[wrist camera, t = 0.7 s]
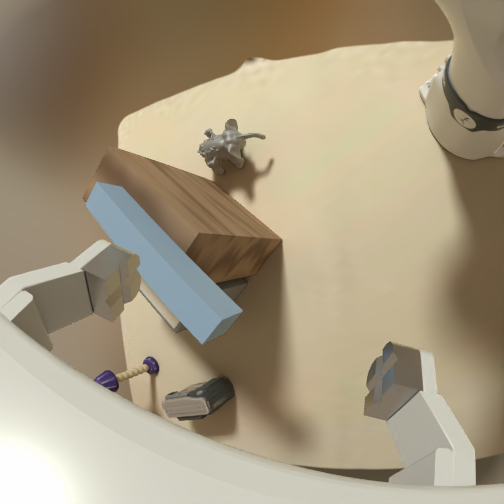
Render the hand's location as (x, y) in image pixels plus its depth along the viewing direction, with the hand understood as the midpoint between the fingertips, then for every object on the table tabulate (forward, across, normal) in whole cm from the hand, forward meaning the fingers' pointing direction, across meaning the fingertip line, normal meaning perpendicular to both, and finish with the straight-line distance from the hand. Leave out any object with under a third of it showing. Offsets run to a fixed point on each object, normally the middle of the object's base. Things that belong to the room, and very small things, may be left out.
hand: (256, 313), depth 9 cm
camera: (+25, +7, +51) cm, 58 cm away
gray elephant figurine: (+48, +16, +10) cm, 52 cm away
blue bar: (+16, +12, +12) cm, 24 cm away
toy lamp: (+27, +23, +55) cm, 66 cm away
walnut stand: (+41, +13, +22) cm, 48 cm away
